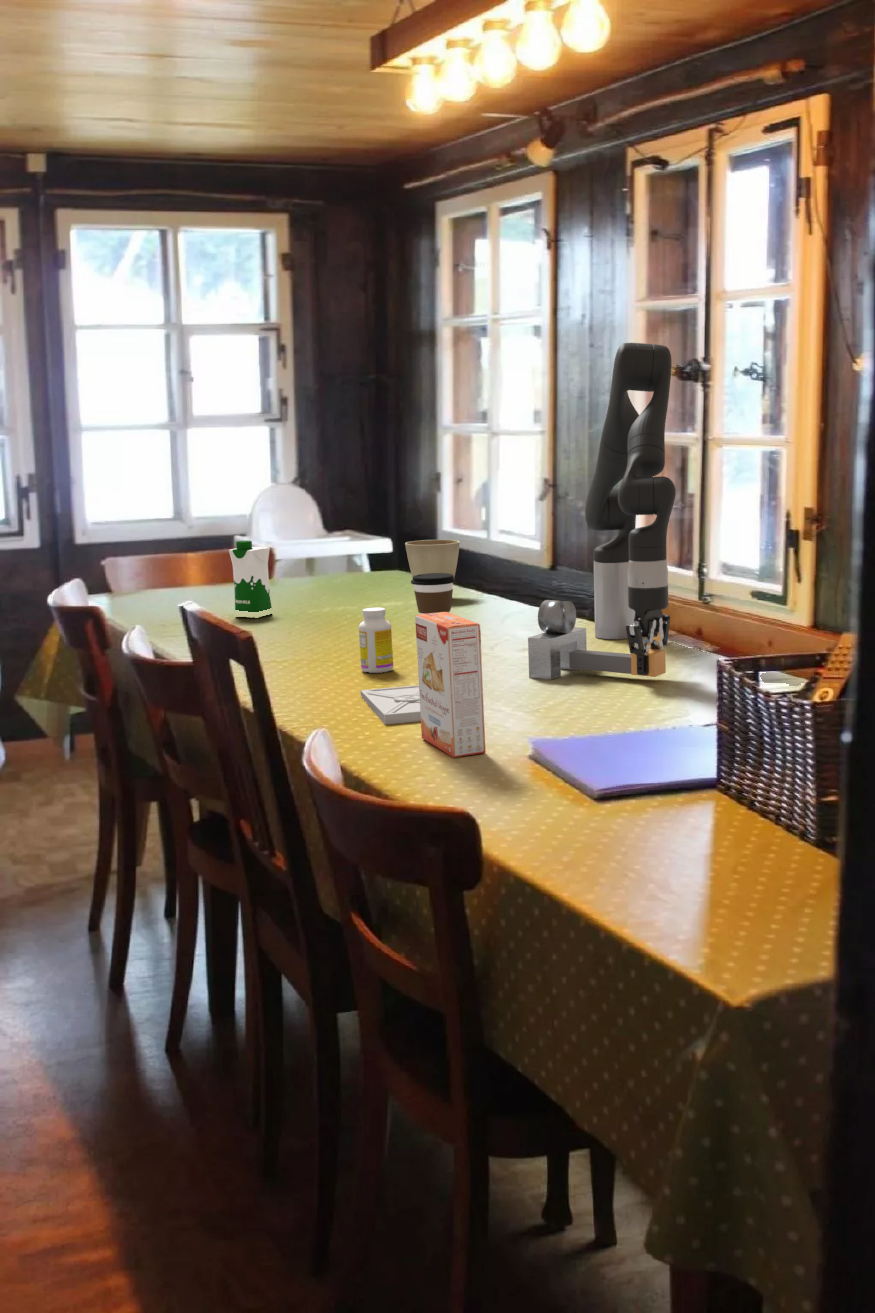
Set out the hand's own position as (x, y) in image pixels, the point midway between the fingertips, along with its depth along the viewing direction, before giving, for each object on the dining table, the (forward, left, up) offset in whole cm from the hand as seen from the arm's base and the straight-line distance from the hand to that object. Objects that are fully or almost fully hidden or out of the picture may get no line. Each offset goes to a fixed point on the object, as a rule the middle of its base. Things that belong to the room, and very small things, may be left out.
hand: (649, 671), depth 265 cm
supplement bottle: (+14, -55, -2) cm, 57 cm away
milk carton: (-30, -131, -2) cm, 135 cm away
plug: (0, -7, 0) cm, 7 cm away
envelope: (+38, -29, -3) cm, 48 cm away
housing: (0, -20, -2) cm, 20 cm away
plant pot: (-71, -102, -2) cm, 124 cm away
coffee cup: (-38, -78, -2) cm, 87 cm away
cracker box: (+58, -5, -2) cm, 58 cm away
